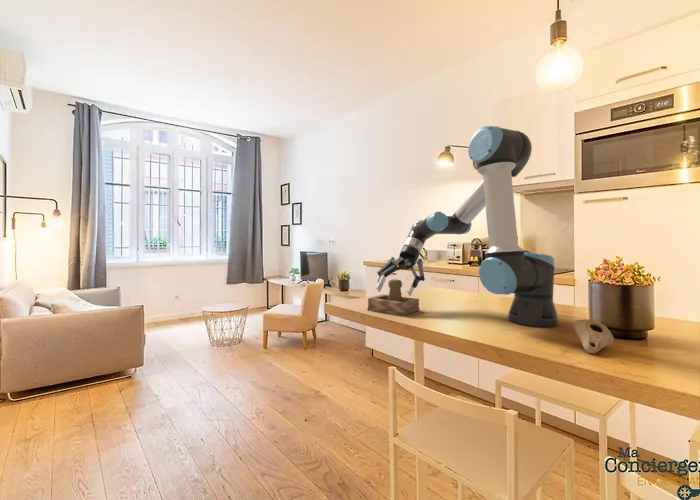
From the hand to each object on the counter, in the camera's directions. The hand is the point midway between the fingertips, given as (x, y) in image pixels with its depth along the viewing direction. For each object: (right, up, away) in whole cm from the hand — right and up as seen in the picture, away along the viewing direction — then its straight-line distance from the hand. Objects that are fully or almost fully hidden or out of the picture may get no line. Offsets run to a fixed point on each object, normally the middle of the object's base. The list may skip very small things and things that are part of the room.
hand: (393, 291), depth 135 cm
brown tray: (0, -7, +1) cm, 7 cm away
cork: (+1, -6, 0) cm, 6 cm away
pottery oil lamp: (+46, -10, -44) cm, 64 cm away
